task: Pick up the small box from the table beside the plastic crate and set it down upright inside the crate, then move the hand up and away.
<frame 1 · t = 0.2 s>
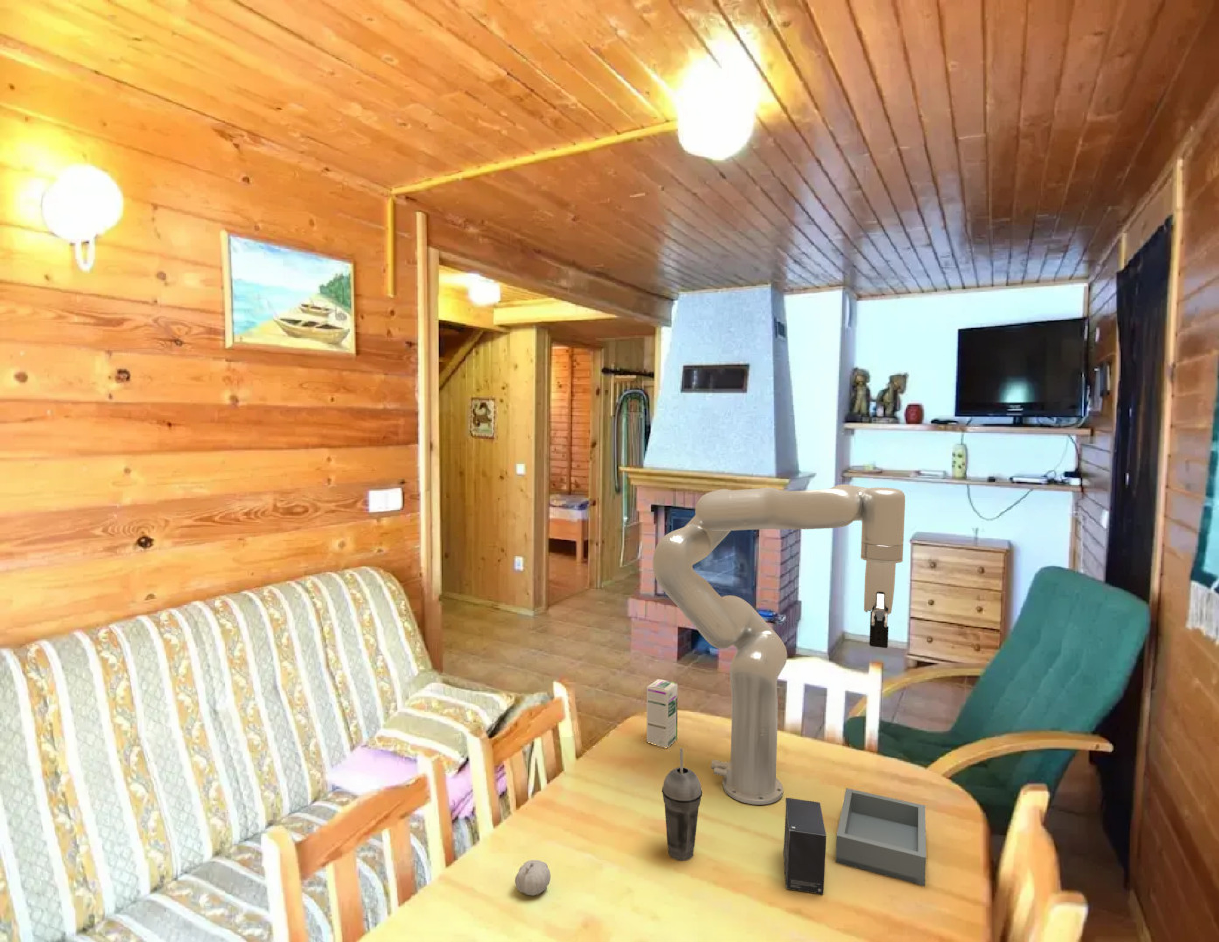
hand: (878, 639, 131), 36 cm above the table, tool pointing down, fingers open, 9 cm apart
crate: (881, 845, 125), on the table
small box: (803, 873, 118), on the table
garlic: (533, 891, 112), on the table
beverage cup: (680, 853, 123), on the table
syrup box: (661, 742, 165), on the table
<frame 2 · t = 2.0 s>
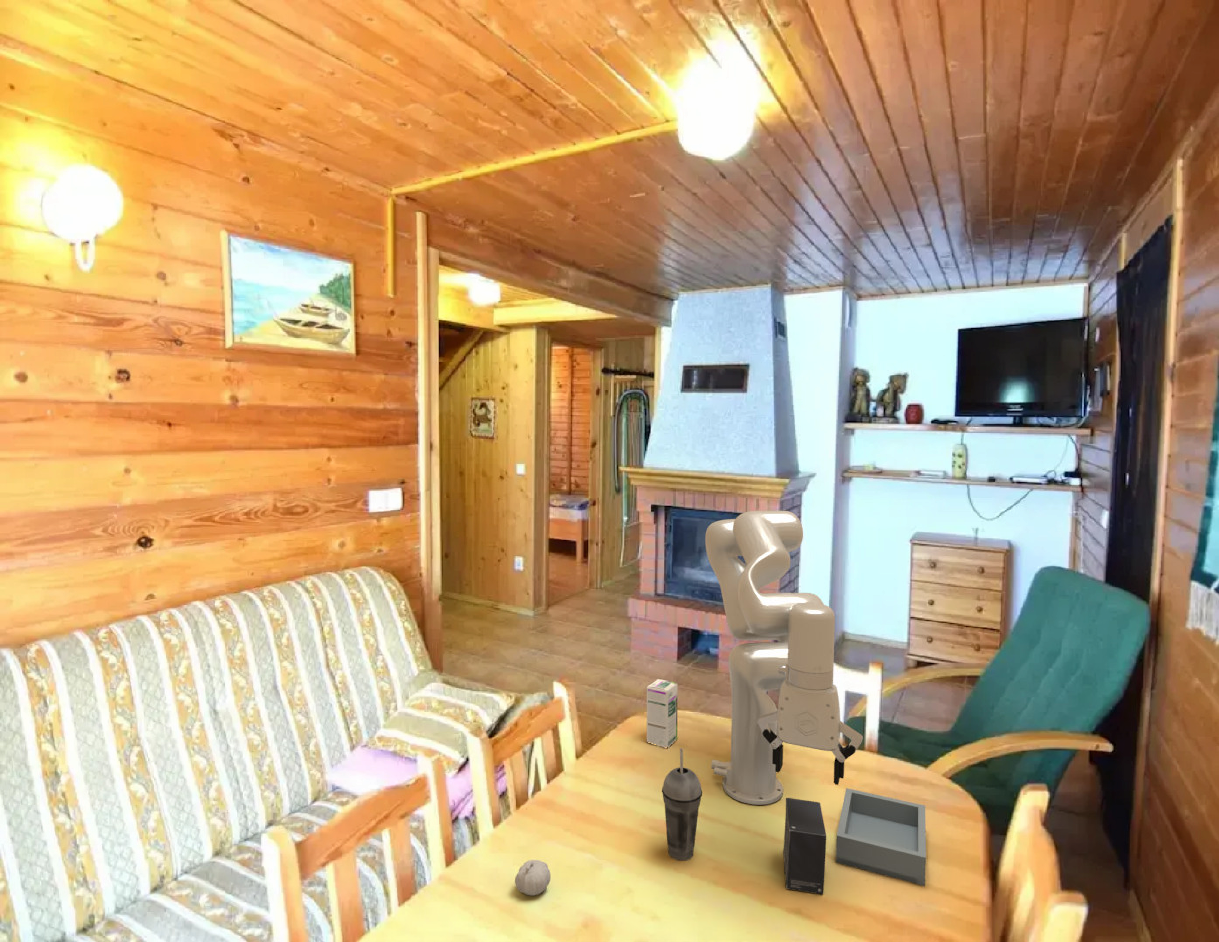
hand: (807, 774, 116), 18 cm above the table, tool pointing down, fingers open, 9 cm apart
nothing on the table moved.
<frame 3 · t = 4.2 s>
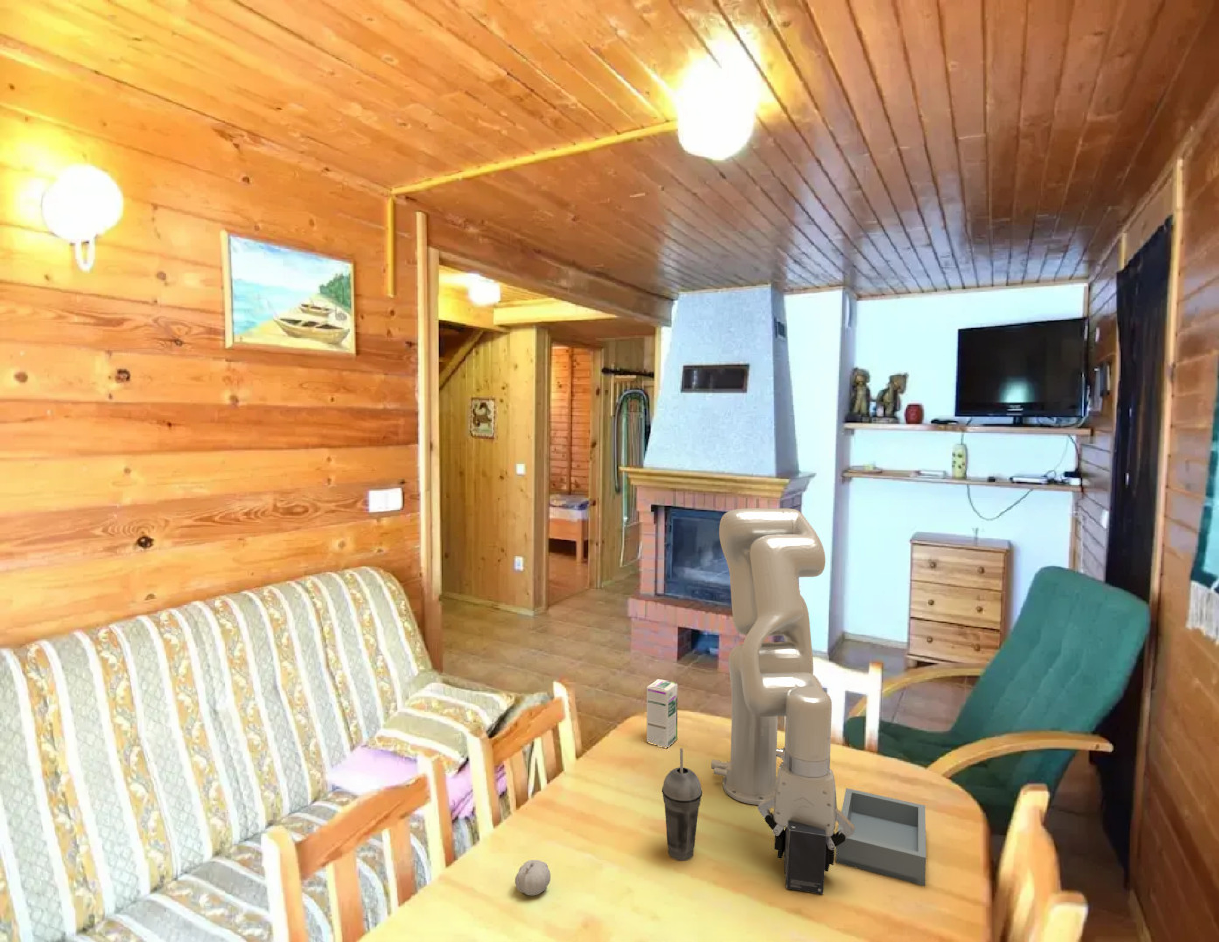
hand: (803, 859, 117), 2 cm above the table, tool pointing down, fingers closed on small box, 7 cm apart
small box: (803, 873, 118), on the table, touching gripper
everything else where it was.
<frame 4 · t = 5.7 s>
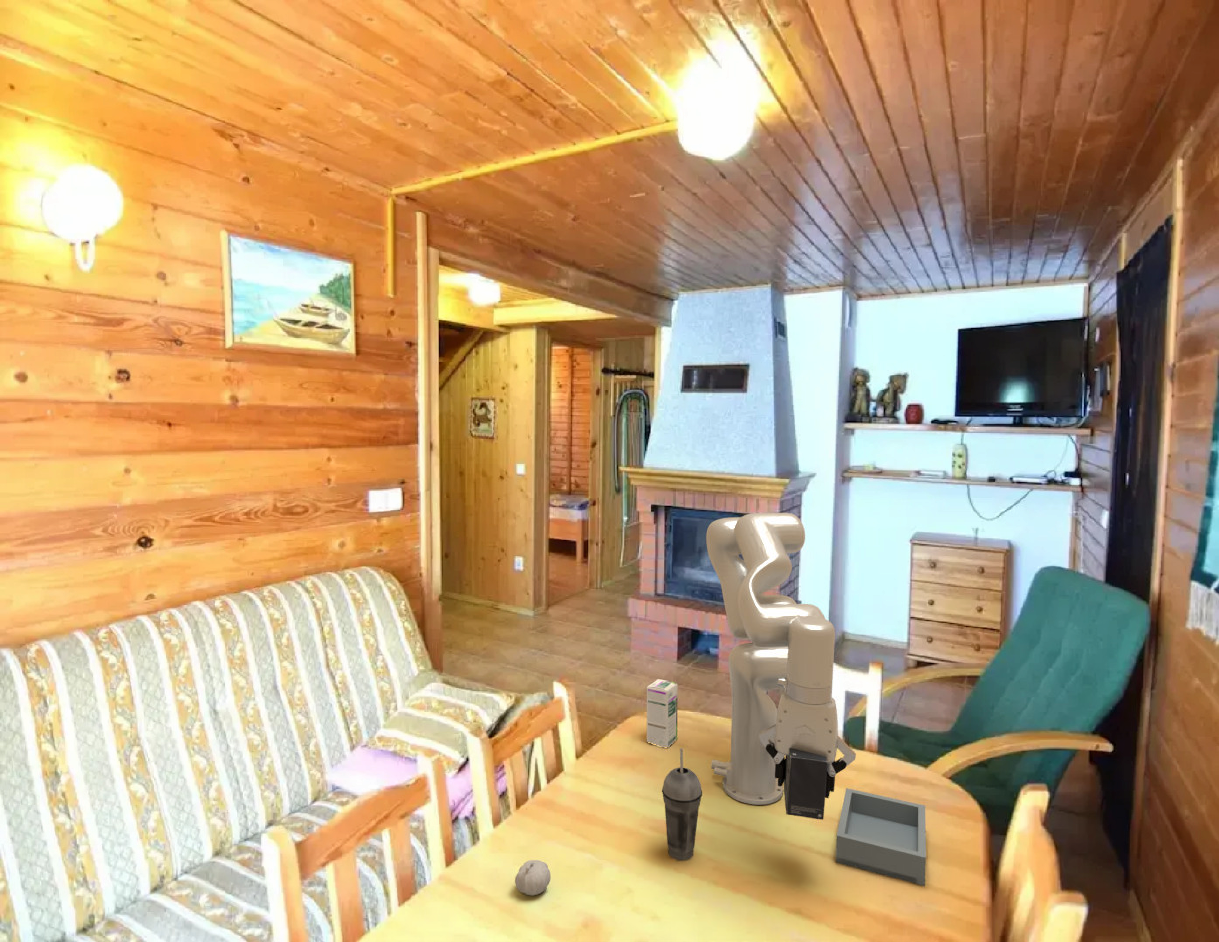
hand: (804, 787, 117), 15 cm above the table, tool pointing down, fingers closed on small box, 7 cm apart
small box: (803, 801, 118), point 12 cm above the table, touching gripper
everything else where it was.
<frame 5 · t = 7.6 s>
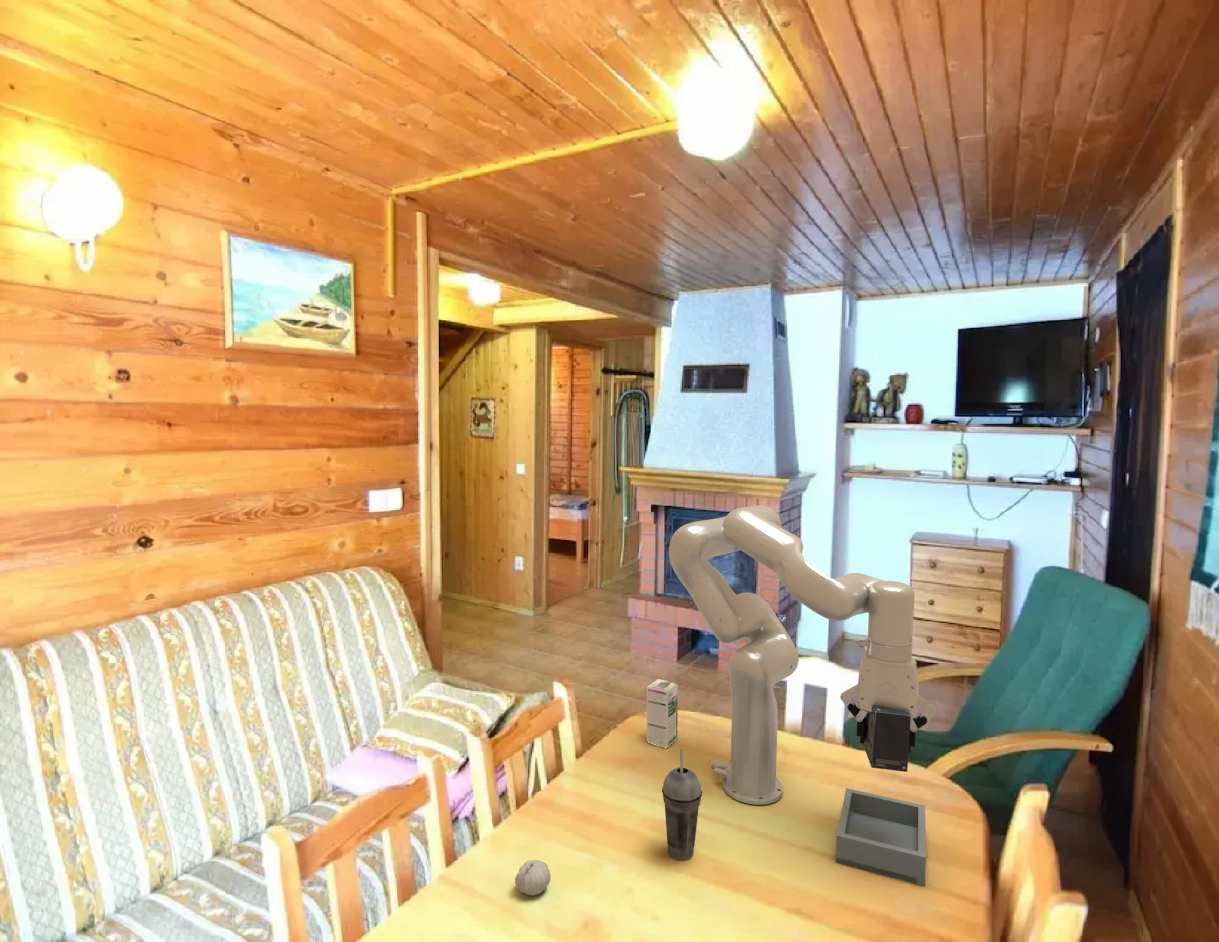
hand: (885, 744, 124), 19 cm above the table, tool pointing down, fingers closed on small box, 7 cm apart
small box: (884, 757, 124), point 17 cm above the table, touching gripper
everything else where it was.
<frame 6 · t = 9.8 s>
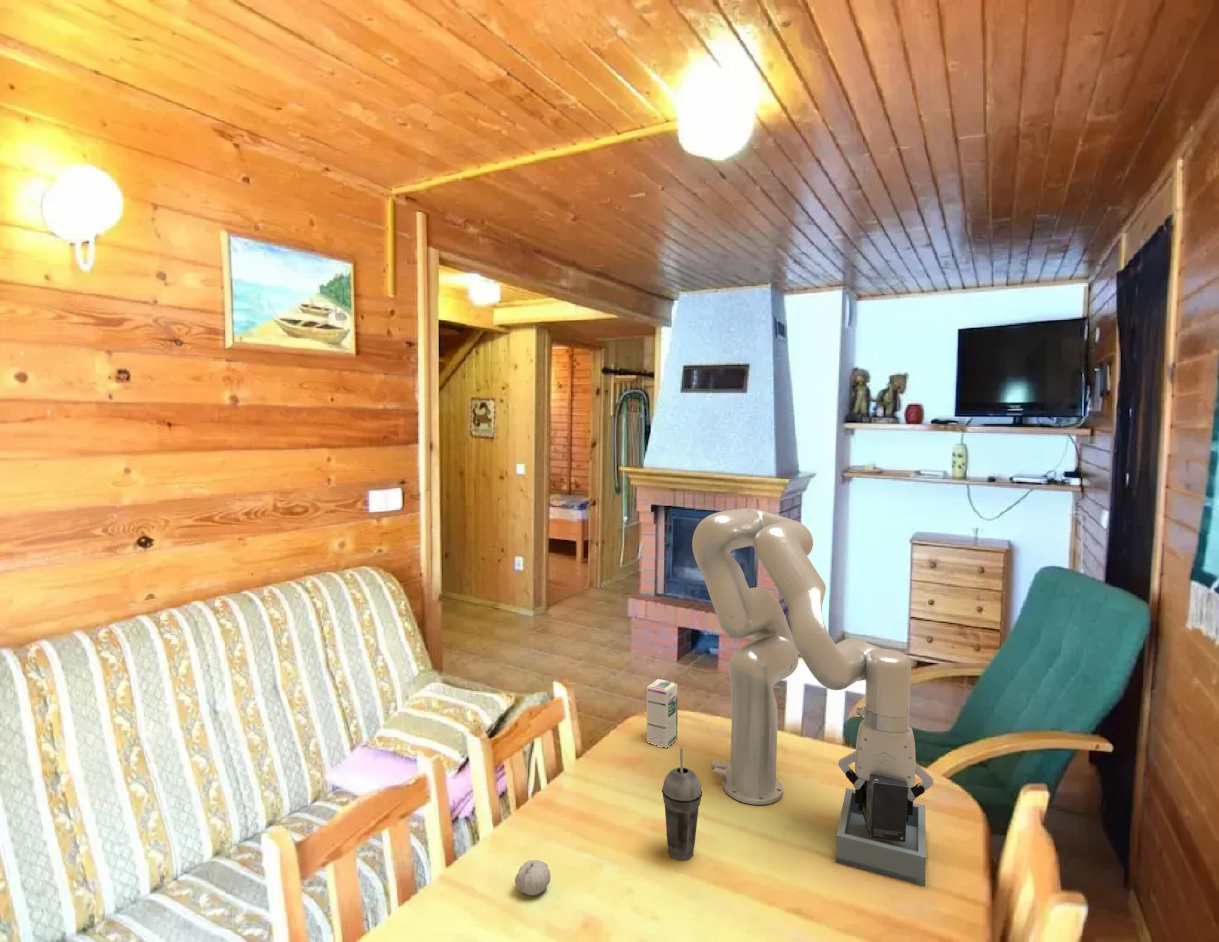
hand: (883, 811, 125), 7 cm above the table, tool pointing down, fingers closed on small box, 7 cm apart
small box: (882, 825, 125), point 4 cm above the table, touching gripper
everything else where it was.
when the fingers open (6 cm above the table, at t = 11.0 s): small box drops 2 cm, resting on crate.
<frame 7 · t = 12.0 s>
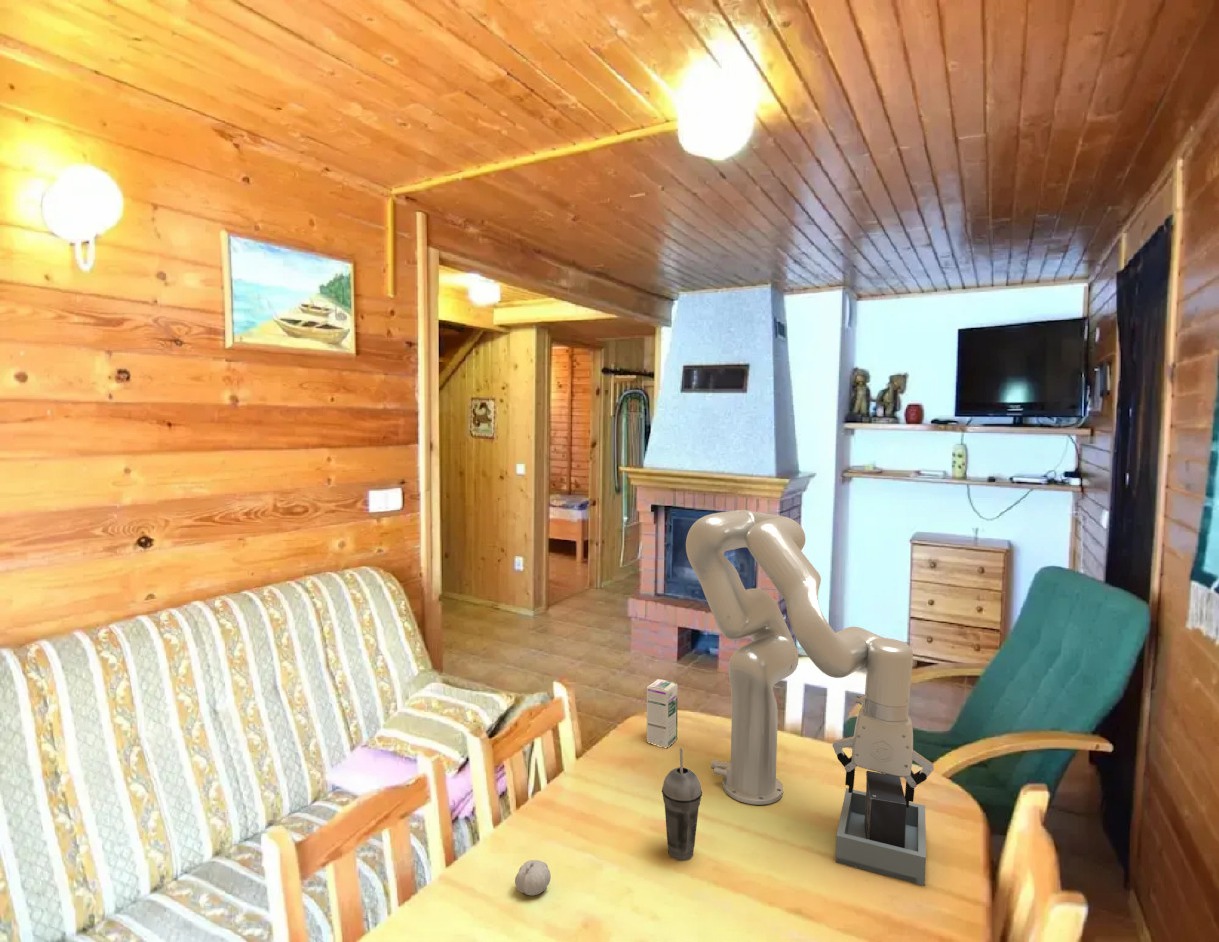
hand: (878, 796, 125), 9 cm above the table, tool pointing down, fingers open, 9 cm apart
small box: (884, 841, 125), point 1 cm above the table, touching crate, gripper
everything else where it was.
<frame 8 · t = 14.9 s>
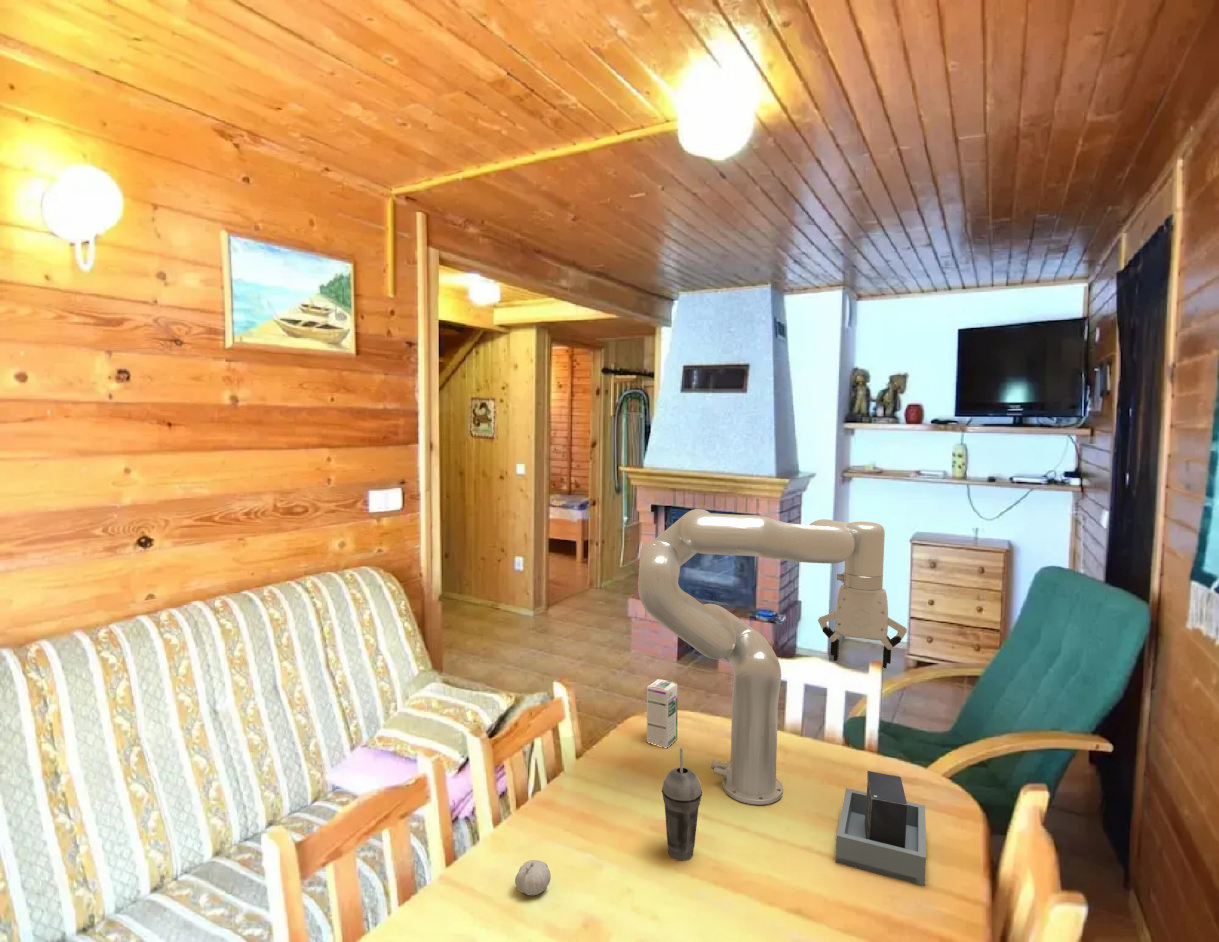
hand: (860, 662, 141), 28 cm above the table, tool pointing down, fingers open, 9 cm apart
small box: (884, 841, 125), point 1 cm above the table, touching crate
everything else where it was.
at the end: small box inside the target area on the crate (0.4 cm from its centre), point 0.8 cm above the crate's base; small box tilted 0°; the gripper is holding nothing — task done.
